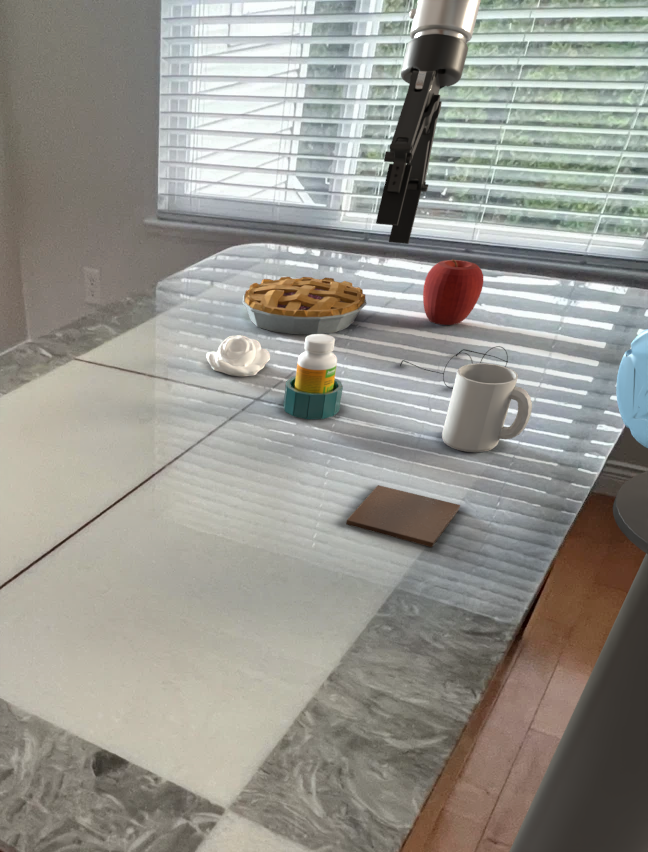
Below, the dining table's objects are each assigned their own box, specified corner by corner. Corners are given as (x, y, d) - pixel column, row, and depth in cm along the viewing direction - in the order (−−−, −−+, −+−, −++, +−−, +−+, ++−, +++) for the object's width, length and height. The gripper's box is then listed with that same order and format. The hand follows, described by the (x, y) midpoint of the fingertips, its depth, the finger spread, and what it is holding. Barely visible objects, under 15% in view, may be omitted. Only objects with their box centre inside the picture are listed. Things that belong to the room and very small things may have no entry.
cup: (450, 426, 116) (466, 359, 110) (526, 441, 111) (547, 373, 105) (433, 445, 111) (450, 377, 105) (511, 462, 107) (533, 392, 101)
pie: (229, 332, 147) (231, 302, 143) (253, 296, 162) (255, 267, 159) (357, 342, 141) (362, 310, 138) (369, 303, 156) (374, 274, 153)
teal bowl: (346, 404, 122) (350, 380, 120) (325, 423, 118) (329, 398, 115) (297, 394, 126) (300, 370, 123) (274, 412, 121) (277, 388, 119)
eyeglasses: (393, 367, 133) (400, 333, 129) (461, 355, 135) (469, 322, 132) (436, 392, 125) (445, 357, 121) (507, 379, 127) (517, 344, 124)
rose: (268, 326, 135) (275, 347, 128) (265, 354, 138) (272, 376, 131) (206, 327, 136) (209, 348, 129) (204, 356, 139) (208, 378, 132)
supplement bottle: (324, 418, 119) (335, 347, 112) (287, 412, 121) (295, 342, 114) (333, 404, 123) (344, 334, 116) (297, 399, 124) (306, 330, 118)
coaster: (459, 509, 99) (460, 504, 98) (432, 547, 93) (433, 542, 92) (377, 489, 103) (377, 484, 102) (345, 524, 97) (346, 519, 96)
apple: (471, 315, 150) (486, 253, 143) (475, 333, 143) (491, 268, 136) (416, 313, 152) (428, 251, 145) (417, 330, 145) (430, 266, 138)
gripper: (417, 75, 117) (377, 247, 126) (397, 0, 96) (350, 212, 104) (473, 77, 115) (428, 251, 123) (465, 0, 94) (412, 217, 102)
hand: (392, 234), depth 114 cm, fingers open, 13 cm apart
